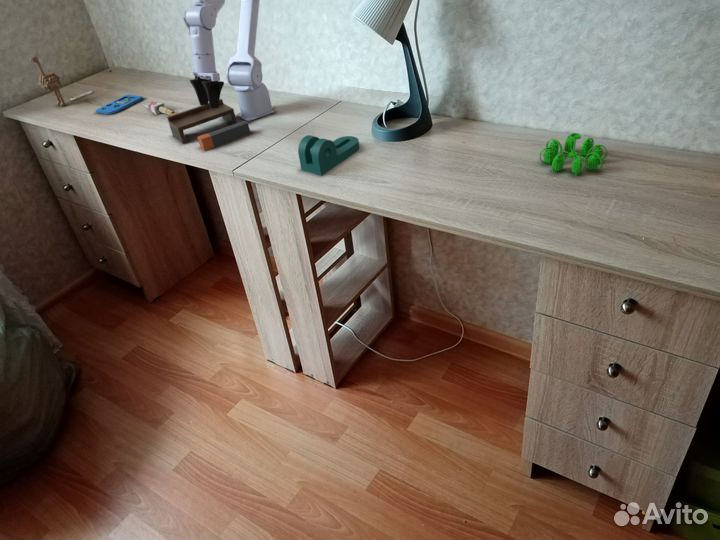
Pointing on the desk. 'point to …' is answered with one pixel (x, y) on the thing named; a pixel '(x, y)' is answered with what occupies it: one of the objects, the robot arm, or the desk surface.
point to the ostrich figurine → (51, 83)
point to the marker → (223, 135)
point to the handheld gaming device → (119, 104)
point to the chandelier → (573, 154)
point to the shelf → (199, 118)
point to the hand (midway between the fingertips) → (209, 106)
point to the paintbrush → (158, 108)
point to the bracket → (325, 153)
